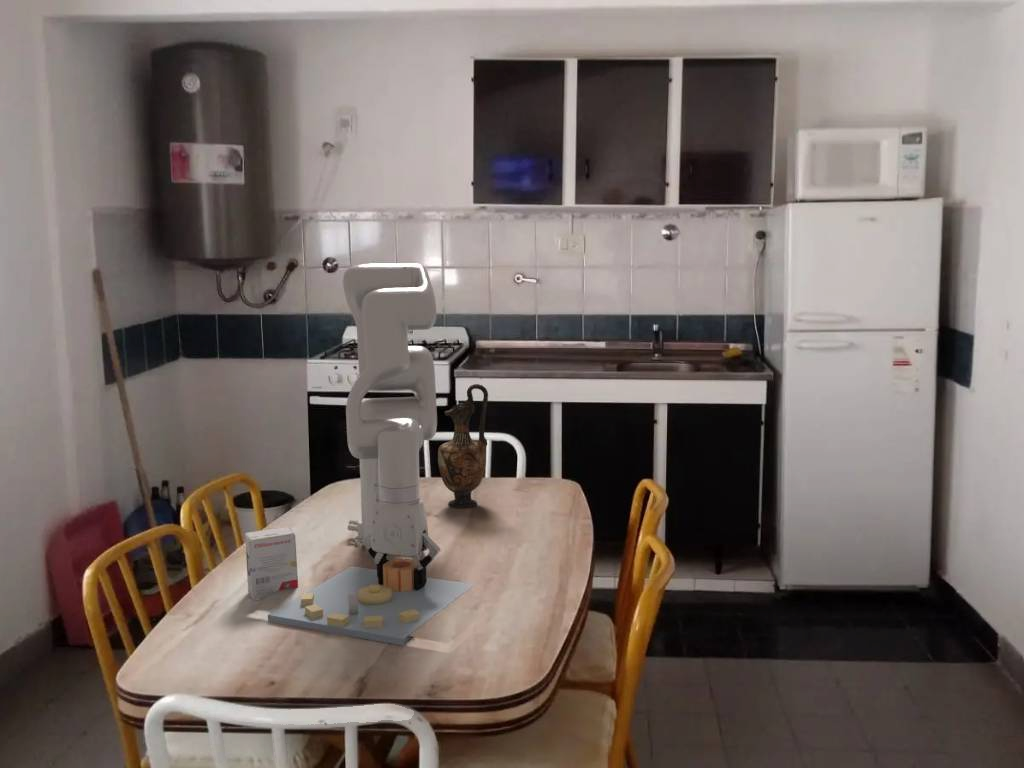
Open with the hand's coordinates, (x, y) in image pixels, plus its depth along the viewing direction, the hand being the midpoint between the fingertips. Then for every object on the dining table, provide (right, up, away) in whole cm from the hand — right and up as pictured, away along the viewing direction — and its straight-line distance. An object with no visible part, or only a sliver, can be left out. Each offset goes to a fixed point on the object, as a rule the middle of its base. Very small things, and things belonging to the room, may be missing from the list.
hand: (401, 584), depth 188 cm
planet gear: (0, 0, 0) cm, 0 cm away
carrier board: (-4, -2, -7) cm, 8 cm away
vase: (+9, +8, +58) cm, 59 cm away
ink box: (-24, -2, 0) cm, 24 cm away
